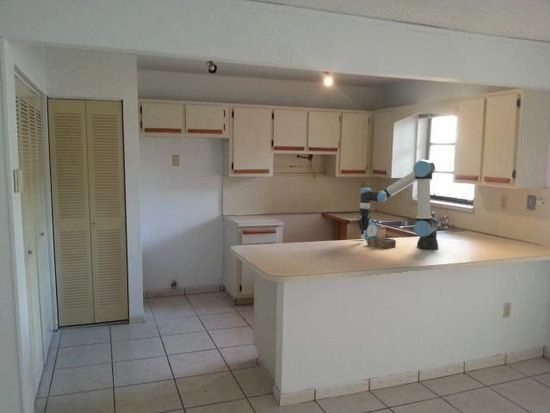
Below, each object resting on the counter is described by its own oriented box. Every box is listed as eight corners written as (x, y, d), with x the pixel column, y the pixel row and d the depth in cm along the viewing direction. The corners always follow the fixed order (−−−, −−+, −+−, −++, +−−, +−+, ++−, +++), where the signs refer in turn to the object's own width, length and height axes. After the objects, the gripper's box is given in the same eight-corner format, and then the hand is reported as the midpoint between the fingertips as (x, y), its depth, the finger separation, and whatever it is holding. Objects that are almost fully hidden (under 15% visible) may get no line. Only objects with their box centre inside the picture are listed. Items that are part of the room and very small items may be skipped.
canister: (386, 242, 342) (386, 226, 341) (381, 243, 338) (382, 227, 337) (379, 241, 346) (380, 225, 345) (375, 242, 342) (376, 226, 341)
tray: (393, 244, 342) (394, 237, 341) (384, 246, 333) (384, 239, 332) (376, 241, 353) (376, 234, 352) (366, 243, 344) (366, 236, 343)
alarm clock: (364, 239, 370) (365, 220, 369) (360, 237, 376) (361, 219, 374) (378, 238, 375) (379, 220, 374) (374, 237, 381) (374, 219, 379)
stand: (395, 246, 341) (395, 240, 341) (385, 249, 332) (385, 242, 331) (377, 243, 352) (378, 237, 352) (367, 245, 343) (367, 239, 342)
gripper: (365, 207, 358) (363, 236, 361) (355, 208, 349) (353, 238, 351) (373, 208, 352) (372, 238, 355) (363, 209, 343) (362, 240, 346)
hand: (363, 238), depth 353 cm, fingers closed
